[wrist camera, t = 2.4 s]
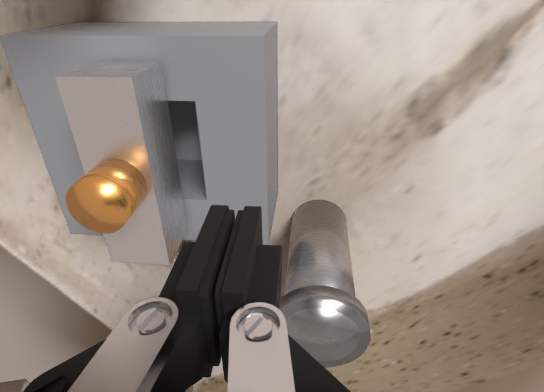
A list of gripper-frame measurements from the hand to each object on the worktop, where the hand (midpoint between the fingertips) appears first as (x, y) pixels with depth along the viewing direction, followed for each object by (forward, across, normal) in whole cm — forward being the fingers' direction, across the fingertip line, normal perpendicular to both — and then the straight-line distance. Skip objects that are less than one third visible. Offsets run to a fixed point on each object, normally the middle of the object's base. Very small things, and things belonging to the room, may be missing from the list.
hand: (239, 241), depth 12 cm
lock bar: (+7, +6, 0) cm, 9 cm away
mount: (+13, +6, 0) cm, 14 cm away
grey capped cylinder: (+13, -4, +8) cm, 15 cm away
